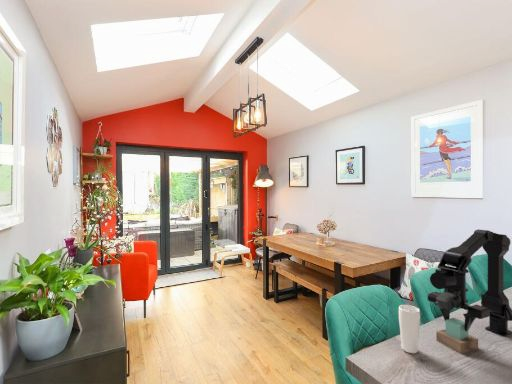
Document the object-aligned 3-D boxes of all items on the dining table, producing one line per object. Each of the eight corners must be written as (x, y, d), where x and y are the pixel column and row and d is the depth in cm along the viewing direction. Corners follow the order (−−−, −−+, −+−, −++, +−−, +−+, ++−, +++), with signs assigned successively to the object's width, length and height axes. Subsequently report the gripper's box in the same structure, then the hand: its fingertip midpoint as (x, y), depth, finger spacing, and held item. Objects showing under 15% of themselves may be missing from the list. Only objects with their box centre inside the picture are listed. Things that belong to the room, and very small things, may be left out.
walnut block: (453, 337, 108) (453, 327, 108) (478, 349, 100) (478, 338, 100) (436, 341, 105) (436, 331, 105) (460, 354, 97) (460, 343, 97)
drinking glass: (423, 356, 95) (423, 313, 95) (402, 354, 97) (401, 311, 97) (416, 345, 102) (415, 305, 102) (396, 343, 103) (396, 303, 103)
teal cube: (453, 330, 106) (453, 317, 106) (468, 336, 101) (468, 323, 101) (445, 333, 104) (445, 320, 104) (460, 339, 99) (459, 326, 99)
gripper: (417, 280, 108) (418, 320, 108) (471, 297, 91) (472, 344, 91) (436, 277, 112) (436, 315, 112) (490, 292, 95) (491, 337, 95)
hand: (456, 327), depth 102 cm, fingers open, 6 cm apart
